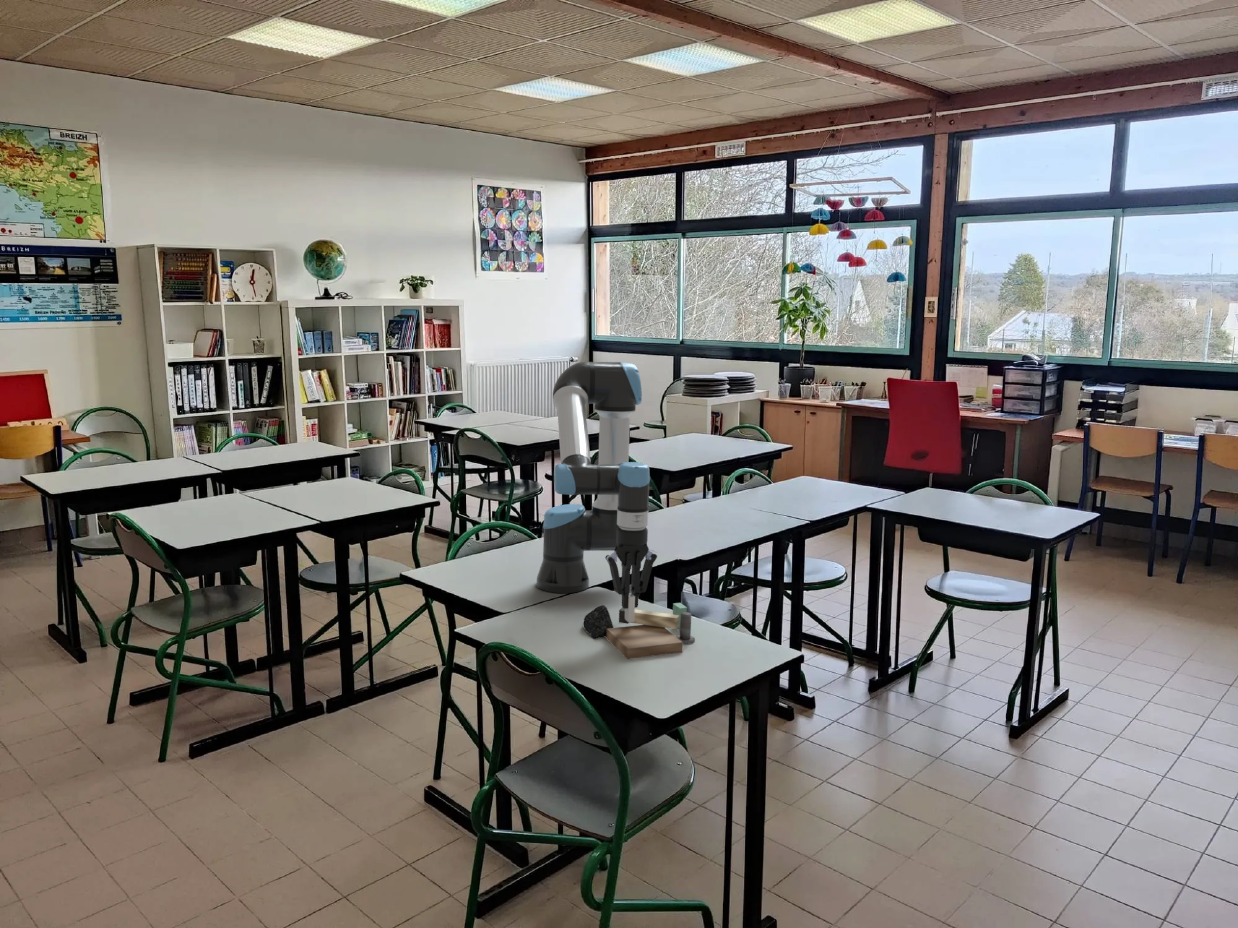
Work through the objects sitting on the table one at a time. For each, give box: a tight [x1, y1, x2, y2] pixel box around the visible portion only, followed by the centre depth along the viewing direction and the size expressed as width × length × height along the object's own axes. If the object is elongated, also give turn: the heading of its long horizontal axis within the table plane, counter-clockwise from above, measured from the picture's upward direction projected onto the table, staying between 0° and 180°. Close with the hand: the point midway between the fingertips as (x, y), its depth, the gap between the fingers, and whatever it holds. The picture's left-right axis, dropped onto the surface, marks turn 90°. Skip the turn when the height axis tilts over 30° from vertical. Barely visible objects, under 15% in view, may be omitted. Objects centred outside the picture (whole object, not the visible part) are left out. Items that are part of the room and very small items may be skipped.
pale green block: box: [672, 602, 688, 631], centre depth 238 cm, size 4×2×6 cm, turn 21°
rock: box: [582, 604, 614, 640], centre depth 234 cm, size 7×10×6 cm
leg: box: [618, 606, 679, 630], centre depth 232 cm, size 15×3×3 cm, turn 71°
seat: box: [605, 611, 696, 660], centre depth 226 cm, size 14×20×7 cm
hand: (629, 620), depth 230 cm, fingers closed
